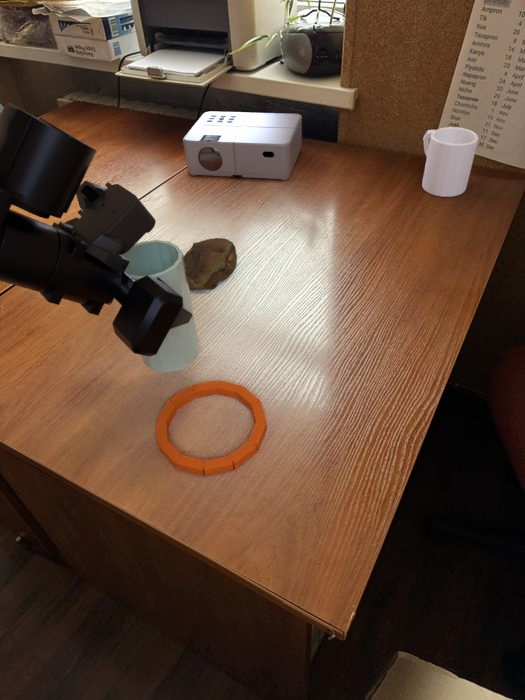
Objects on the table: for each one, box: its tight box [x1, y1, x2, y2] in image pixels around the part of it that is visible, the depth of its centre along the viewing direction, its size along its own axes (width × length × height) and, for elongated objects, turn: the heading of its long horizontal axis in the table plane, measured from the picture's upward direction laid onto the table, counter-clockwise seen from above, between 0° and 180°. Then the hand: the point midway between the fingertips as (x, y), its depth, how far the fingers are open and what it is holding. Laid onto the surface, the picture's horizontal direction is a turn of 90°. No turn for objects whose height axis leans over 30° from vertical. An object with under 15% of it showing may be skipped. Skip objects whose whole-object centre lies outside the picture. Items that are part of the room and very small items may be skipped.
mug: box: [421, 126, 479, 198], centre depth 95 cm, size 8×12×10 cm
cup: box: [120, 239, 201, 373], centre depth 55 cm, size 7×7×13 cm
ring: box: [155, 379, 268, 477], centre depth 58 cm, size 12×12×1 cm
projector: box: [182, 111, 303, 181], centre depth 106 cm, size 17×22×8 cm
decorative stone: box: [183, 237, 238, 290], centre depth 79 cm, size 10×9×4 cm
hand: (171, 302), depth 55 cm, fingers closed on cup, 7 cm apart
